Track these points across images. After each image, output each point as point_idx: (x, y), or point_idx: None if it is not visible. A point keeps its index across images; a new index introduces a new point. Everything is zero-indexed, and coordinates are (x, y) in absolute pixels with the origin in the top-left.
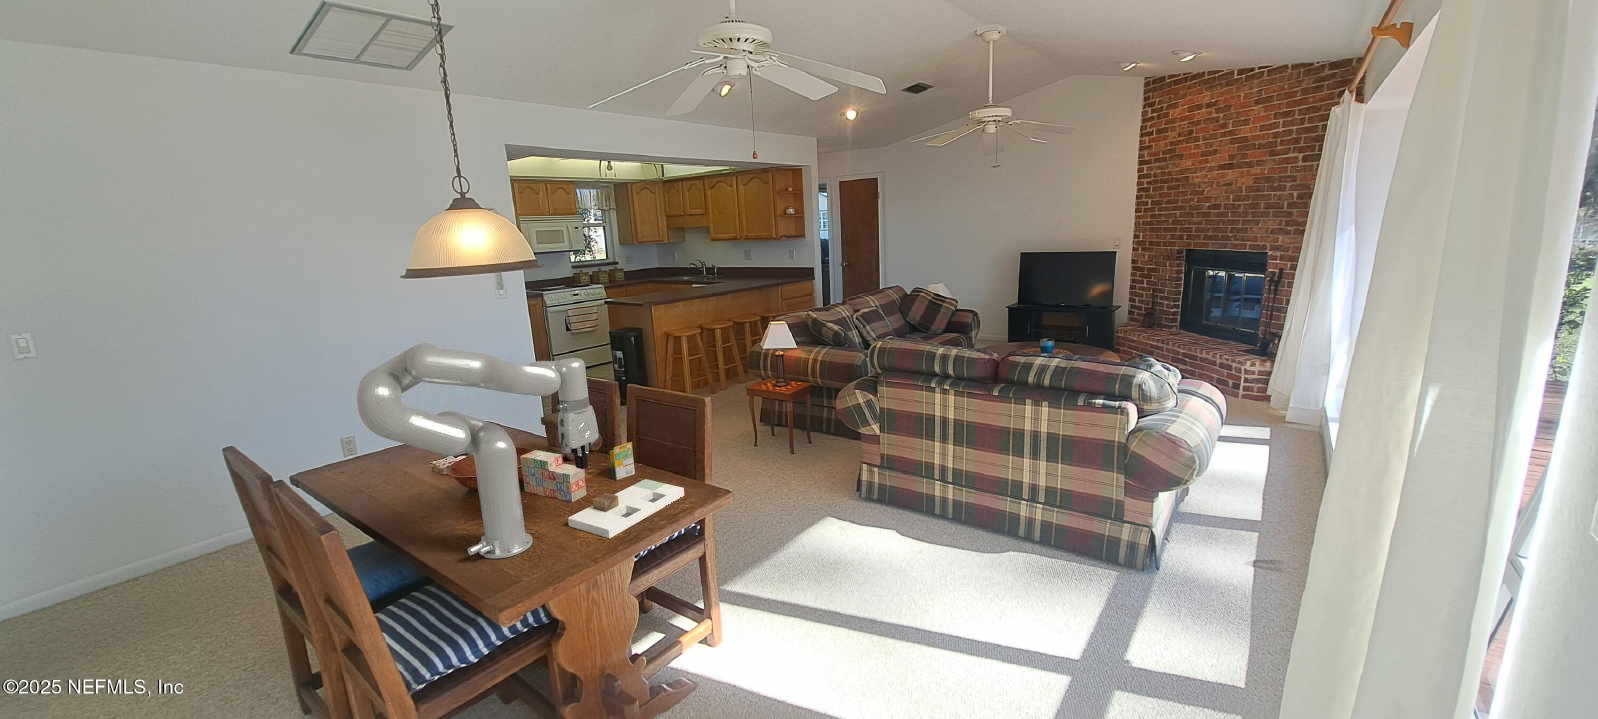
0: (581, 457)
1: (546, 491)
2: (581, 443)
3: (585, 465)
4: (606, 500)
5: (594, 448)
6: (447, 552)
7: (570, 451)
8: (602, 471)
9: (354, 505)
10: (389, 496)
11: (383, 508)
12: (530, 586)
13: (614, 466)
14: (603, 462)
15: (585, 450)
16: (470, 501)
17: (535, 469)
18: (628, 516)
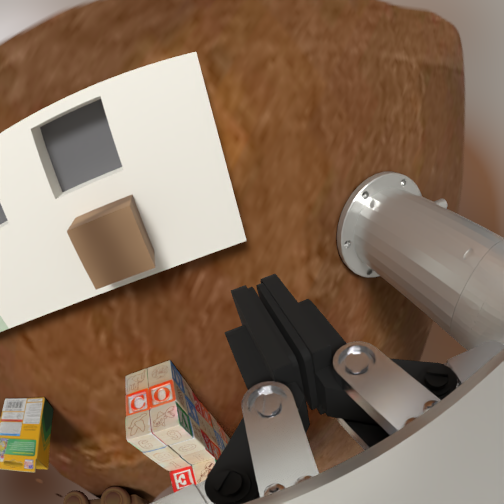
0: (321, 342)
1: (207, 417)
2: (477, 419)
3: (257, 297)
4: (117, 219)
5: (77, 494)
6: None
7: (458, 366)
8: (70, 441)
9: None
10: (351, 456)
11: None
12: (417, 31)
13: (42, 428)
14: (65, 462)
15: (294, 405)
16: (309, 430)
17: None
18: (70, 157)
